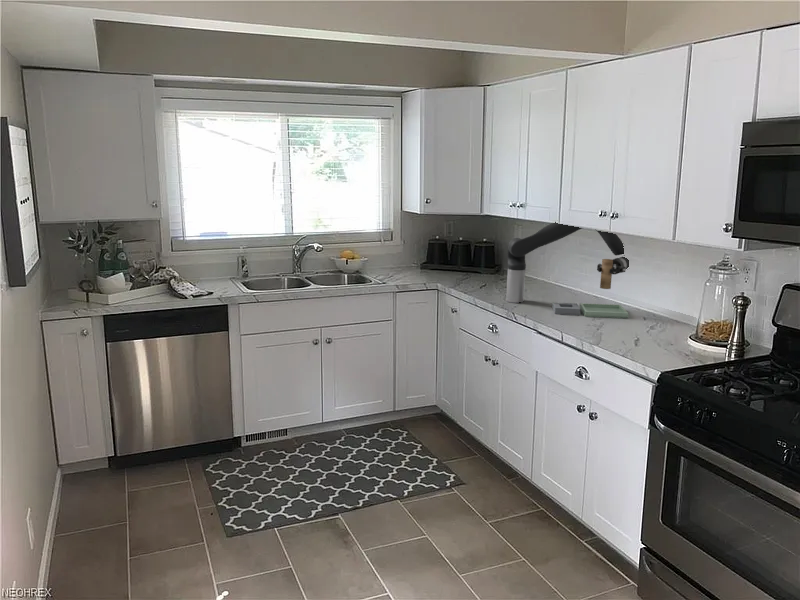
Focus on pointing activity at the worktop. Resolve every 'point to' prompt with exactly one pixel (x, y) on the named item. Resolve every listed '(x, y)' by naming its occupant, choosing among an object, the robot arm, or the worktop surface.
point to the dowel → (606, 274)
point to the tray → (603, 310)
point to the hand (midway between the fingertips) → (604, 270)
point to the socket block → (566, 308)
